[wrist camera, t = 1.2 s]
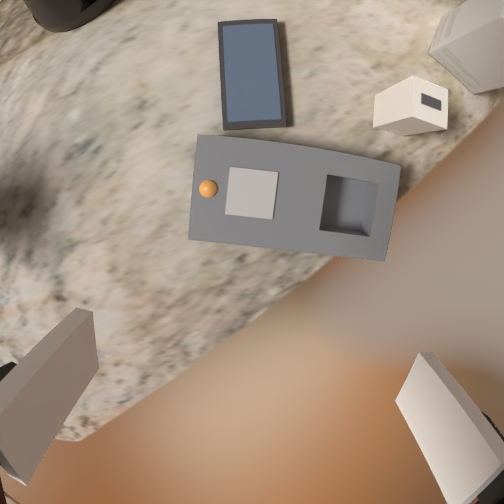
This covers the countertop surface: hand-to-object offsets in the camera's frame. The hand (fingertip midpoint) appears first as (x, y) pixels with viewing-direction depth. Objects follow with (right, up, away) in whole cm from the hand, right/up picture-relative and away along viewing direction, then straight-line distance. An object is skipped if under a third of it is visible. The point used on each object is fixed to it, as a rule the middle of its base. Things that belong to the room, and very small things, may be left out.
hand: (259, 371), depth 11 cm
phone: (0, +24, +17) cm, 29 cm away
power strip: (+4, +10, +21) cm, 24 cm away
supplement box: (+28, +31, +16) cm, 45 cm away
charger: (+15, +20, +18) cm, 31 cm away
